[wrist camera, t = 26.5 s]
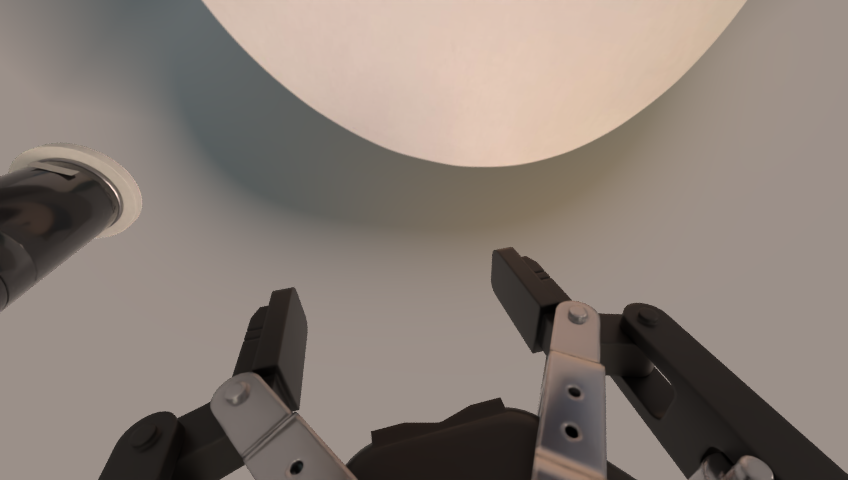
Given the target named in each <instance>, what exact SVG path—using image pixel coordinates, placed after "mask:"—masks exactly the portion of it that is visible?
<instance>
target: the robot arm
mask: <svg viewBox="0 0 848 480" xmlns="http://www.w3.org/2000/svg"><path fill="white" fill-rule="evenodd" d="M26 165H27V167H24V168H22V169H19V170H16V171H14V172H11V173H8V174H6V175H3V176H0V312H1V311H3V310H4V309H5V308H6V307H8V306H9V305H10V304H11V303H13V302H14V301H15V300H16V299H18V298H19V297H20V296H22V295H23V294H24V293H25V292H26V291H28V290H29V289H30V288H31V287H33V286H34V285H35V284H36V283H38V282H39V281H40V280H42V279H43V278H44V277H45V276H47V275H48V274H49V273H50V272H52V271H53V270H54V269H56V268H57V267H58V266H59V265H61V264H62V263H63V262H64V261H66V260H67V259H68V258H69V257H71V256H72V255H73V254H74V253H76V252H77V251H79V250H80V249H81V248H82V247H84V246H85V245H86V244H87V243H89V242H90V241H91V240H92V239H94V238H95V237H96V236H98V235H99V234H100V233H102V232H103V231H104V230H105V229H107V228H109V227H110V226H112V225H113V224H114V223H116V222H117V221H118V220H119V219H120V217H121V215H122V213H123V208H124V204H123V199H122V196H121V194H120V192H119V190H118V188H117V187H116V186H115V184H114V183H113V182H112V181H111V180H110V179H109V178H108V177H107V176H105V175H104V174H103V173H101V172H100V171H98V170H97V169H95V168H93V167H91V166H89V165H87V164H84V163H82V162H79V161H75V160H71V159H66V158H47V159H42V160H39V161H34V162H31V163H29V164H26ZM491 283H492V288H493V291H494V293H495V295H496V296H497V298H498V299H499V301H500V303H501V304H502V306H503V307H504V309H505V310H506V312H507V314H508V315H509V317H510V318H511V320H512V322H513V323H514V325H515V326H516V328H517V329H518V331H519V333H520V334H521V336H522V337H523V339H524V341H525V342H526V344H527V345H528V347H529V348H530V350H531V352H532V353H536V352H541V351H544V353H545V354H546V362H545V367H544V373H543V380H542V386H541V393H540V398H539V404H538V410H537V415H535V414H533V413H530V412H527V411H525V410H521V409H516V408H509V407H508V408H507V407H506V408H505V407H504V404H503V402H502V400H501V398H496V399H493V400H489V401H485V402H481V403H477V404H473V405H470V406H468V407H466V408H465V409H463V410H461V411H460V412H458V413H456V414H454V415H453V416H451V417H449V418H448V419H446V420H444V421H442V422H439V423H402V424H398V425H394V426H390V427H387V428H383V429H379V430H375V431H371V435H372V443H371V444H369V445H367V446H366V447H364V448H363V449H362V450H360V451H359V452H358V453H357V454H355V456H353V457H352V458H351V459H350V460H349V462H348V463H347V464H346V465H344V464H343V462H341V460H340V459H339V458H338V457H337V456H336V455H335V454H334V453H333V451H332V450H331V449H330V448H329V447H328V446H327V445H326V444H325V442H324V441H323V440H322V439H321V438H320V437H319V436H318V435H317V434H316V433H315V431H314V430H313V429H312V428H311V427H310V426H309V425H308V424H307V423H306V421H305V420H304V419H303V418H302V417H301V416H300V415H299V414H298V413H297V412H294V413H293V412H292V411H296V410H299V406H300V396H301V387H302V377H303V369H304V359H305V349H306V341H307V321H306V316H305V314H304V311H303V308H302V305H301V302H300V300H299V297H298V294H297V292H296V289H295V288H294V287H292V288H288V289H282V290H276V291H273V292H272V295H271V298H270V302H269V306H264V307H260V308H259V309H258V310H257V312H256V313H255V314H254V315H253V316H252V318H251V320H250V323H249V326H248V329H247V331H248V332H246V335H245V338H244V340H245V341H244V342H243V345H242V348H241V351H240V354H239V357H238V360H237V364H236V366H235V370H234V373H233V376H232V378H230V379H228V380H227V381H226V382H224V383H223V384H222V385H221V386H220V387H219V388H218V389H217V390H216V392H215V393H214V395H213V397H212V399H211V401H210V402H209V403H207V404H205V405H204V406H202V407H200V408H198V409H195V410H194V411H192V412H189V413H187V414H185V415H184V416H181V417H179V418H177V417H176V416H175V415H173V413H171V412H166V411H165V412H157V413H154V414H151V415H149V416H147V417H145V418H143V419H141V420H140V421H138V422H137V423H135V424H134V425H133V426H131V427H130V428H129V429H128V430H127V431H126V432H125V433H124V434H123V435H122V437H121V438H120V439H119V440H118V442H117V444H116V445H115V447H114V449H113V451H112V453H111V455H110V457H109V459H108V461H107V463H106V465H105V467H104V469H103V471H102V473H101V475H100V477H99V479H98V480H220V479H221V478H223V477H225V476H227V475H228V474H230V473H232V472H233V471H235V470H237V469H239V468H240V467H242V466H244V465H246V466H247V468H248V469H249V471H250V473H251V474H252V476H253V477H254V479H255V480H636V479H635V478H633V477H631V476H630V475H629V474H627V473H626V472H624V471H622V470H621V469H619V468H618V467H616V466H615V465H613V464H612V463H610V462H608V461H607V460H606V459H607V458H606V394H605V375H609V376H611V378H612V379H613V380H614V382H615V383H616V384H617V386H618V387H619V388H620V390H621V391H622V392H623V394H624V395H625V396H626V398H627V399H628V400H629V402H630V403H631V404H632V406H633V407H634V408H635V410H636V411H637V412H638V414H639V415H640V416H641V418H642V419H643V420H644V422H645V423H646V424H647V426H648V427H649V428H650V429H651V431H652V432H653V434H654V435H655V436H656V438H657V439H658V441H659V442H660V443H661V445H662V446H663V447H664V448H665V450H666V451H667V453H668V454H669V455H670V457H671V458H672V459H673V461H674V462H675V463H676V465H677V466H678V467H679V468H680V470H681V471H682V473H683V474H684V475H685V477H686V478H687V479H688V480H848V474H847V473H845V472H844V471H843V470H842V469H841V468H840V467H839V466H838V465H836V464H835V463H834V462H833V461H832V460H831V459H830V458H828V457H827V456H826V455H825V454H824V453H823V452H822V451H821V450H819V449H818V448H817V447H816V446H815V445H814V444H813V443H812V442H810V441H809V440H808V439H807V438H806V437H805V436H804V435H803V434H801V433H800V432H799V431H798V430H797V429H796V428H795V427H793V426H792V425H791V424H790V423H789V422H788V421H787V420H786V419H785V418H783V417H782V416H781V415H780V414H779V413H778V412H777V411H775V410H774V409H773V408H772V407H771V406H770V405H769V404H768V403H766V402H765V401H764V400H763V399H762V398H761V397H760V396H759V395H757V394H756V393H755V392H754V391H753V390H752V389H751V388H750V387H748V386H747V385H746V384H745V383H744V382H743V381H741V380H740V379H739V378H738V377H737V376H736V375H735V374H734V373H733V372H732V371H730V370H729V369H728V368H727V367H726V366H725V365H724V364H722V363H721V362H720V361H719V360H718V359H717V358H716V357H715V356H713V355H712V354H711V353H710V352H709V351H708V350H707V349H706V348H704V347H703V346H702V345H701V344H700V343H699V342H698V341H696V340H695V339H694V338H693V337H692V336H691V335H690V334H689V333H688V332H686V331H685V330H684V329H683V328H682V327H681V326H680V325H678V324H677V323H676V322H675V321H674V320H673V319H672V318H671V317H669V316H668V315H667V314H666V313H665V312H663V311H662V310H660V309H658V308H657V307H654V306H652V305H648V304H643V303H633V304H630V305H627V306H626V307H625V308H624V311H623V314H600V313H597V311H596V310H595V309H593V308H592V307H590V306H589V305H587V304H585V303H582V302H579V301H572V300H571V299H570V298H569V297H568V296H567V295H566V293H564V291H563V290H562V289H561V288H560V287H559V286H558V285H557V284H556V282H555V281H554V280H553V279H552V278H550V276H549V275H548V274H547V273H546V272H544V270H543V268H542V267H541V266H540V265H539V264H538V263H537V262H536V261H534V260H532V259H530V258H528V257H527V256H524V257H521V256H520V255H519V254H518V253H517V252H516V251H515V250H514V248H513V247H508V248H503V249H498V250H494V251H493V254H492V272H491ZM654 365H655V366H656V367H657V368H658V369H659V371H660V372H661V373H662V374H663V375H664V376H665V377H666V378H667V379H668V381H669V382H670V383H671V385H672V386H671V385H670V383H669V382H668V381H667V380H666V379H665V378H664V377H663V376H662V375H661V373H660V372H659V371H658V370H657V369H656V368H655V367H654Z"/></svg>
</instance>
